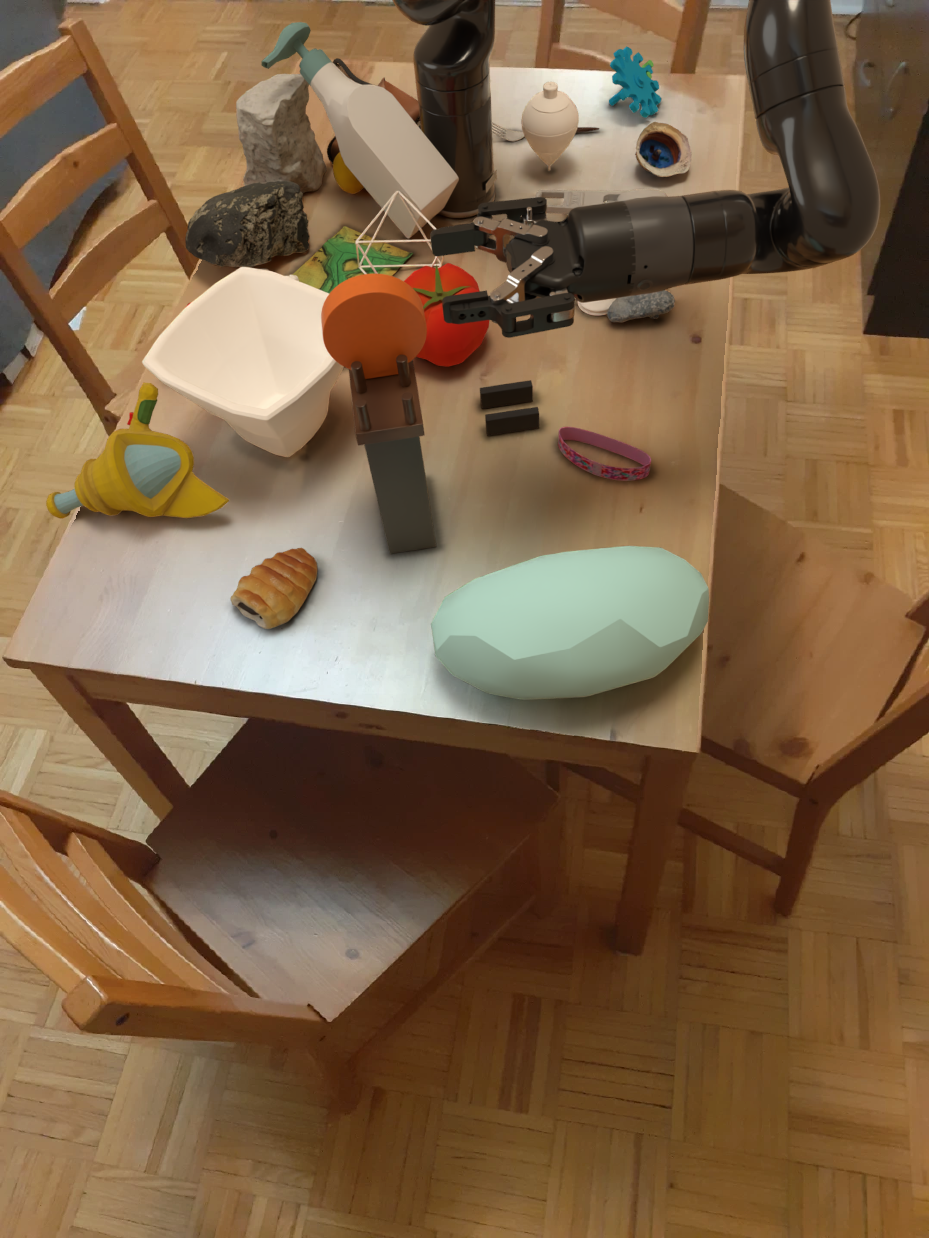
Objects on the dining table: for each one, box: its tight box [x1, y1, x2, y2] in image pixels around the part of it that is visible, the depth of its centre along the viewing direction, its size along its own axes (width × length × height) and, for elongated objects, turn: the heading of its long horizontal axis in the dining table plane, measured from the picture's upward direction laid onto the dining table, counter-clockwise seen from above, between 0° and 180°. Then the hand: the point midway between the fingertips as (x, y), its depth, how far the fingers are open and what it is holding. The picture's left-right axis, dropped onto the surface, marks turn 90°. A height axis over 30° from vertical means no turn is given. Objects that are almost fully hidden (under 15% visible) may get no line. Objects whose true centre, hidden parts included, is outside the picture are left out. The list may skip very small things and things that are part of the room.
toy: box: [45, 382, 230, 519], centre depth 100 cm, size 10×20×15 cm
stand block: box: [364, 436, 437, 555], centre depth 93 cm, size 5×9×18 cm, turn 8°
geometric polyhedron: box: [356, 191, 445, 274], centre depth 116 cm, size 12×11×9 cm
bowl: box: [141, 266, 345, 458], centre depth 102 cm, size 19×19×14 cm
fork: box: [492, 121, 600, 142], centre depth 134 cm, size 3×16×2 cm, turn 89°
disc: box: [321, 274, 427, 379], centre depth 81 cm, size 9×2×9 cm, turn 98°
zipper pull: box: [535, 188, 669, 215], centre depth 122 cm, size 8×18×4 cm, turn 82°
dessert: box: [634, 121, 693, 178], centre depth 126 cm, size 8×7×6 cm
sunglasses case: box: [326, 77, 420, 165], centre depth 136 cm, size 18×7×7 cm
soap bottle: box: [260, 21, 459, 240], centre depth 117 cm, size 11×8×27 cm
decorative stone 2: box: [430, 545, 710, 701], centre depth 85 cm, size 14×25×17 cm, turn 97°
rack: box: [348, 354, 426, 446], centre depth 83 cm, size 6×10×4 cm, turn 8°
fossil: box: [606, 290, 676, 323], centre depth 113 cm, size 8×4×5 cm
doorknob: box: [332, 152, 365, 195], centre depth 128 cm, size 8×8×8 cm
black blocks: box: [479, 380, 540, 437], centre depth 106 cm, size 6×5×2 cm
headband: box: [557, 426, 652, 482], centre depth 102 cm, size 11×4×2 cm, turn 63°
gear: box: [608, 46, 662, 119], centre depth 135 cm, size 11×6×10 cm
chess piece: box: [577, 298, 616, 317], centre depth 112 cm, size 5×5×10 cm
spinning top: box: [520, 81, 580, 172], centre depth 125 cm, size 8×8×12 cm
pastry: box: [230, 547, 318, 630], centre depth 95 cm, size 9×7×4 cm
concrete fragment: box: [184, 181, 310, 268], centre depth 122 cm, size 15×10×15 cm
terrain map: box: [291, 225, 414, 294], centre depth 122 cm, size 12×12×1 cm
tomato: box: [403, 262, 491, 367], centre depth 110 cm, size 13×12×8 cm
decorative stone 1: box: [235, 73, 327, 194], centre depth 126 cm, size 10×9×15 cm
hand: (437, 276), depth 78 cm, fingers open, 8 cm apart
